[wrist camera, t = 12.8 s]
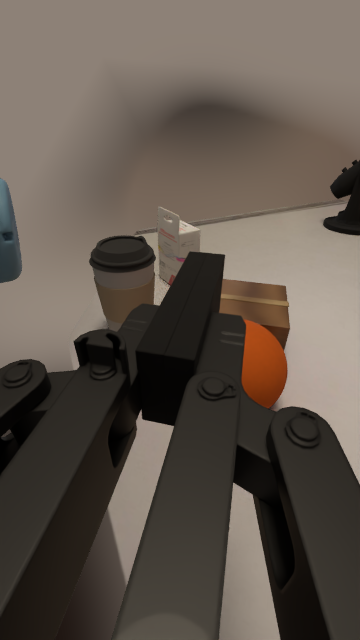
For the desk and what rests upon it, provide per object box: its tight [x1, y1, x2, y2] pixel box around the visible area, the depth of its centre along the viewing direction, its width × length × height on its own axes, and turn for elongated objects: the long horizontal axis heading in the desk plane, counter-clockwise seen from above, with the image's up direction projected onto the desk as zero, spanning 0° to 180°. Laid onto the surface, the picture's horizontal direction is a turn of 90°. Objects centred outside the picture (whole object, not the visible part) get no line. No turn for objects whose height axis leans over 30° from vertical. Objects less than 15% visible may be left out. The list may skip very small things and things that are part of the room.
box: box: [219, 279, 290, 351], centre depth 44 cm, size 11×11×8 cm
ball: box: [242, 319, 287, 408], centre depth 34 cm, size 11×11×11 cm
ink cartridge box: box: [158, 206, 200, 285], centre depth 59 cm, size 9×5×15 cm, turn 31°
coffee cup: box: [89, 236, 156, 332], centre depth 44 cm, size 9×9×15 cm
